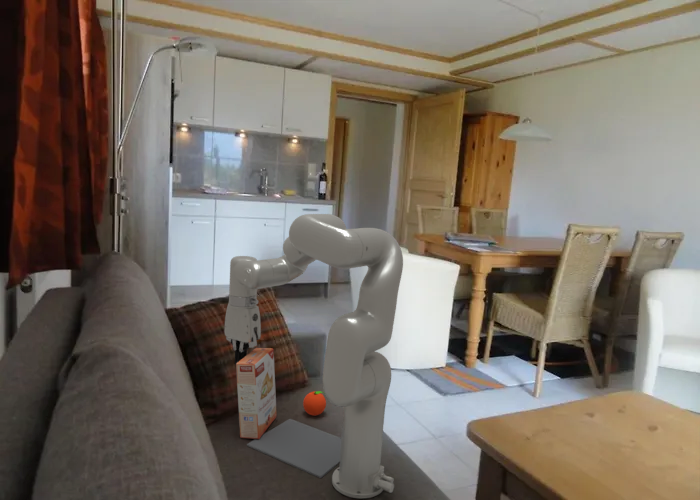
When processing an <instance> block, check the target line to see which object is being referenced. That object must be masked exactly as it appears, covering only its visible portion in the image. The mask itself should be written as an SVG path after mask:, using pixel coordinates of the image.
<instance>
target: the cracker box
mask: <svg viewBox="0 0 700 500" xmlns="http://www.w3.org/2000/svg"><path fill="white" fill-rule="evenodd" d="M274 351H275V350H274V348H271V347H256V348H255V347H254V349H253V350H251V351H250V352H249V353H247V355H246V356H245V357H244V358H243V359H241V360H240V361H239V362H237V363H236V364H235V366H236V367H235V368H236V386H237V388H236V389H237V403H238V404H237V406H238V423H239V424H238V425H239V437H240V438H241V439H253V440H255V439H260V437H261V436H262V435H263V434H265V433H266V431H267V430H268V428H269V427H270V426H271V424H272V423H273V422H274V421H275V419H276V418H277V398H276V379H275V377H276V375H275V356H274V354H275V353H274Z"/></svg>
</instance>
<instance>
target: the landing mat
mask: <svg viewBox="0 0 700 500" xmlns="http://www.w3.org/2000/svg"><path fill="white" fill-rule="evenodd" d="M246 446H247V447H249V448H250V449H252V450H255V451H258V452H259V453H263V454H264V455H267V456H269V457H270V458H271V457H272V458H274V459H275V460H278V461H279V462H280V461H281V462H282V463H284V464H288V465H289V466H291V467H294V468H296V469H298V470H300V471H303V472H305V473H308V474H310V475H312V476H314V477H317V478H318V479H322V478H323V477H324V476H326V475H327V474H328V473H329V472H331V471H332V470H333V469H334V468H335V467H336V466H338V464H339V465H340V451H341V436H337V435H334V434H332V433H329V432H326V431H324V430H321V429H319V428H316V427H313V426H312V425H311V426H310V425H308V424H305V423H302V422H301V421H298V420H294V419H292V418H289V419H287V420H285V421H284V422H282V423H280V424H279V425H277V426H275V427H273V428H271V429H270V430H268V431H267V432H266V431H265V432H264V433H263V435H262V436H261V437H260V439H253V440H251V441H250V442H249V443H248V442H247V444H246Z"/></svg>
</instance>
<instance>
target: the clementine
mask: <svg viewBox="0 0 700 500" xmlns="http://www.w3.org/2000/svg"><path fill="white" fill-rule="evenodd" d="M324 395H325V392H324V391H321V390H319V391H317V390H316V391H310V392H309V393H307V394H306V395H305V397H304V398H303V402H302V405H303V406H302V408H303V409H304V411H305V412H306V413H307V414H308V415H310V416H319V415H321V414H322V413H323V412H325V409H326V405H327V398H326V396H324Z"/></svg>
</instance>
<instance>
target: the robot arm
mask: <svg viewBox="0 0 700 500" xmlns="http://www.w3.org/2000/svg"><path fill="white" fill-rule="evenodd" d="M288 229H289V230H288V237H286V239H285V240H284V242H283V244H282V252H283V255H282V256H280V257H277V258H267V259H257V258H256V257H253V256H251V255H250V256H248V255H238V256H233V257H232V258H231V260H230V262H229V263H230V264H229V294H228V304H227V307H226V313H225V318H224V336H225V339H226V341H228V342H230V343H231V345H232V349H233V351H234V365H236V363H237V362H239V361H240V360H241V359H243V358H244V357H245V356H246V355H248V350H250V348H255V347H256V348H257V347H258V342H257V341H260V339H261V335H262V333H261V332H262V331H261V330H262V329H261V328H262V325H261V322H262V321H261V314H260V309H259V305H258V304H259V300H258V299H257V296H258V290H259V289H265V288H271V287H279V286H284V285H287V283H289V282H291V281H294V280H295V279H296V278H297V279H298V277H300V276H301V275H303V274H304V273H305V271H306V270H307V268H308V266H309V265H310V264H312V263H314V262H315V261H319V262H320V263H321V262H322V263H324V264H326V265H328V266H329V267H333V268H336V269H340V270H341V269H342V270H349V269H354V268H362V267H367V272H366V274H365V275H364V277H363V280H362V282H361V284H360V286H359V292H358V293H359V294H358V299H357V300H358V301H357V305H356V308H355V310H354V311H351V312H348V313H345V314H343V315H340V316H339V317H337V318H336V319H335V320H334V321H333V323H332V324H331V326H330V328H329V331H328V334H327V338H326V339H327V340H326V347H325V354H324V361H323V362H324V363H323V370H322V388H323V392H324V393H325V394H324V395H325V398H326V400H327V401H329V402H330V403H331V404H332V405H334V407H338V408H343V411H342V425H341V436H340V438H341V451H340V463H339V467H337V468H336V469H335V470H334V471H333V472H332V475H331V485H333V487H334V489H335V490H336V491H337V492H338V493H340V494H342V495H344V496H346V497H348V498H353V499H358V500H359V499H363V500H364V499H371V498H373V497H377V496H378V495H380V494H381V493H382V492H383V491H385V492H388V493H393V491H394V488H395V484H394V480H395V479H394V477H391V476H389V475H387V474H385V466H384V465H382V464H381V460H382V448H383V446H382V445H383V438H384V437H383V436H384V435H383V433H384V425H385V412H386V411H385V410H386V403H387V399H388V395H389V391H390V387H391V381H392V367H391V365H390V364H391V363H390V362H389V360H388V359H387V357H386V356H385V355H384V354H382V353H380V352H378V351H379V350H381V349H383V348H385V347H386V346H387V345H388V344H389V343H390V341H391V338H392V337H393V329H394V324H395V318H396V311H397V304H398V295H399V289H400V286H401V285H400V284H401V281H402V280H401V279H402V275H403V269H404V257H403V252H402V249H401V246H400V244H399V243H398V241H397V239H396V238H395V237H394V236H393V235H392V234H391V233H389V232H388V231H386V230H384V229H380V228H376V227H361V228H360V227H359V228H347V226H346V224H345V222H344V220H342V218H341V217H339V216H336V215H335V214H331V213H307V214H301V215H299V216H297V217H296V218H295V219H294V220H293V221H292V223H291V224H290V226H289V228H288Z"/></svg>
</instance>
